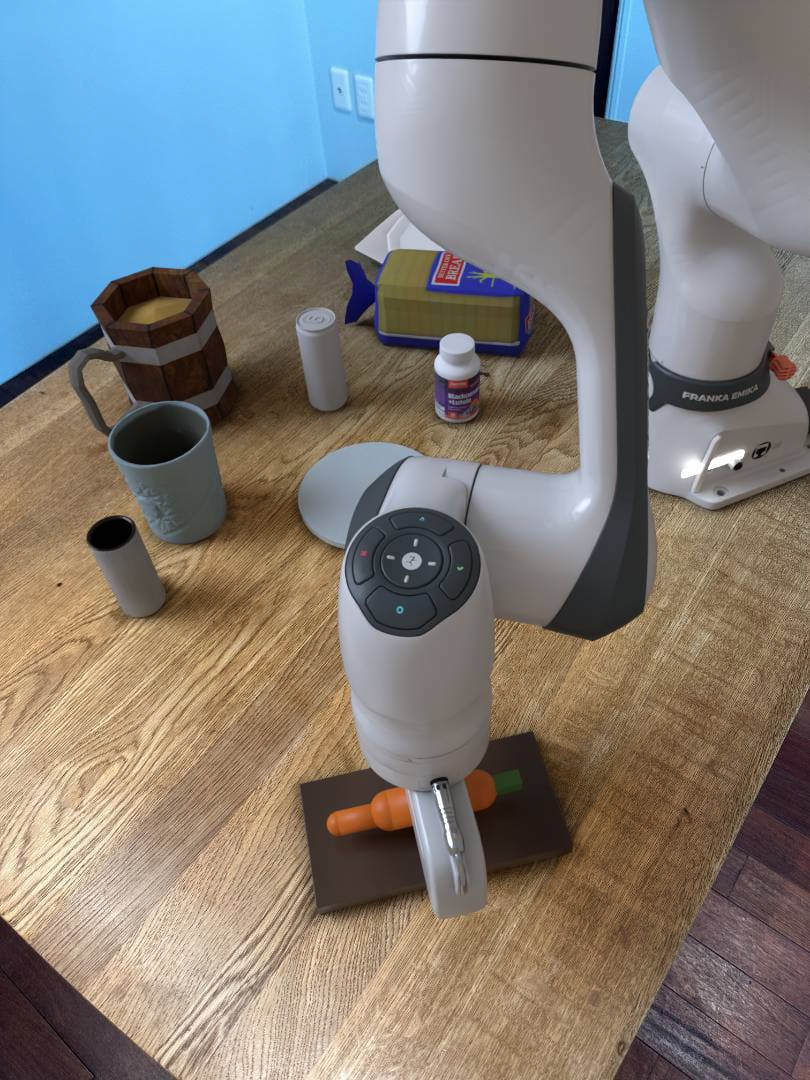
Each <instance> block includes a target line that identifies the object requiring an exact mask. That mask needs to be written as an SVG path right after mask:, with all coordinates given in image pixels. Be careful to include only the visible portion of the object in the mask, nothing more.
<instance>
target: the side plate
mask: <svg viewBox="0 0 810 1080" xmlns="http://www.w3.org/2000/svg"><path fill="white" fill-rule="evenodd" d="M408 456H414V457H416V456H425V455H423V453H420V452H418V451H417V450H416V449H414V448H410V447H409V446H405V445H402V444H398V443H393V442H385V441H368V442H360V443H355V444H350V445H346V446H344V447H340V448H338V449H336V450H334V451H332V452H330V453H328V454H326V455H325V456H323V457H322V458H321V459H319V460H318V461H317V462H315V463H314V464H313V465H312V466H311V467H310V468H309V470H308V471H307V472H306V474H305V475H304V476H303V478H302V480H301V482H300V485H299V488H298V493H297V504H298V505H297V506H298V510H299V513H300V517H301V519H302V521H303V523H304V525H305V526H306V527H307V529H308V530H309V531H310V532H311V533H312V534H313V535H314V536H315V537H317V538H318V539H320V541H323V542H324V543H326V544H328V545H330V546H334V547H336V548H339V549H343V550H344V549H345V543H346V538H347V533H348V529H349V526H350V522H351V519H352V516H353V513H354V511H355V508H356V506H357V504H358V502H359V500H360V498H361V496H362V494H363V493H364V491H365V490H366V489H367V488H368V487H369V486H370V485H371V484H372V483H373V482H374V481H375V480H376V479H377V478H378V477H379V476H380V475H381V474H382V473H384V472H385V471H386V470H387V469H388V468H390V467H391V466H392V465H394V464H395V463H397V462H399V461H400V460H402V459H404V458H406V457H408Z"/></svg>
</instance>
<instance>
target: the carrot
mask: <svg viewBox="0 0 810 1080" xmlns="http://www.w3.org/2000/svg"><path fill="white" fill-rule="evenodd" d="M464 780H465V783H466V787H467V791H468V794H469V798H470V801H471V805H472V808H473V812H474V811H479V810H483V809H486V808H488V807H489V806H490V805H491V804H492V803H493V802H494V801H495V798H496V796H497V795H501V794H505V793H509V792H514V791H518V790H522V780H521V777H520V774H519V771H518V769H517V770H513V771H508V772H504V773H500V774H495V775H490V774H489V773H487V772H485V771H482V770H473V771H472V772H471V773H470V774H469V775H468V776H466V777H465V778H464ZM410 826H413V823H412V819H411V814H410V810H409V806H408V801H407V797H406V792H405V788H401V787H397V788H393V789H388V790H384V791H382V792H380V793H378V794H377V795H376V796H375V797H374V799H373V800H372V802H371V804H367V805H362V806H358V807H353V808H349V809H345V810H340V811H336V812H334V813H332V814H331V815H330V816H329V818H328V820H327V828H328V830H329V832H330V833H331V834H333V835H335V836H342V835H346V834H351V833H355V832H359V831H363V830H368V829H372V828H376V827H379V828H380V829H382V830H386V831H393V830H397V829H402V828H406V827H410Z"/></svg>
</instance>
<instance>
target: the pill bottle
mask: <svg viewBox="0 0 810 1080" xmlns="http://www.w3.org/2000/svg"><path fill="white" fill-rule="evenodd" d="M433 369H434V370H433V373H434V375H433V381H434V409H435V413H436V414H437V416H438V417H439V418H440V419H442V420H444V421H446V422H449V423H452V424H453V423H454V424H460V423H467V422H468V421H471V420H473V419H474V418H475V417H476V416H477V415H478V413H479V412H480V398H481V397H480V396H481V395H480V394H481V359H480V357H479V356H478V355H477V353H475V342H474V340H473V338H472V337H470V336H468V335H466V334H462V333H453V334H449V335H447V336H445V337H443V338H442V339H441V341H440V350H439V353H438V355H437V356H436V358H435V359H434V363H433Z"/></svg>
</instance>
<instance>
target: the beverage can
mask: <svg viewBox="0 0 810 1080" xmlns="http://www.w3.org/2000/svg"><path fill="white" fill-rule="evenodd" d="M295 329H296V335H297V336H296V337H297V340H298V341H297V342H298V346H299V352H300V357H301V363H302V367H303V368H302V369H303V374H304V380H305V385H306V390H307V396H308V401H309V403H310V405H311V406H312V407H313V408H315V409H317V410H318V411H321V412H325V413H330V412H334V411H337V410H340V409H341V408H342V407H343V406H344V405H345V404H346V402H347V401H348V396H349V395H348V389H347V381H346V373H345V367H344V359H343V352H342V344H341V337H340V330H339V323H338V319H337V316H336V313H335V312H334V311H333V310H332V309H329V308H326V307H311V308H308V309H304V310H303V311H301V312H300V313H299V314H298V315H297V316H296V319H295Z"/></svg>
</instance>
